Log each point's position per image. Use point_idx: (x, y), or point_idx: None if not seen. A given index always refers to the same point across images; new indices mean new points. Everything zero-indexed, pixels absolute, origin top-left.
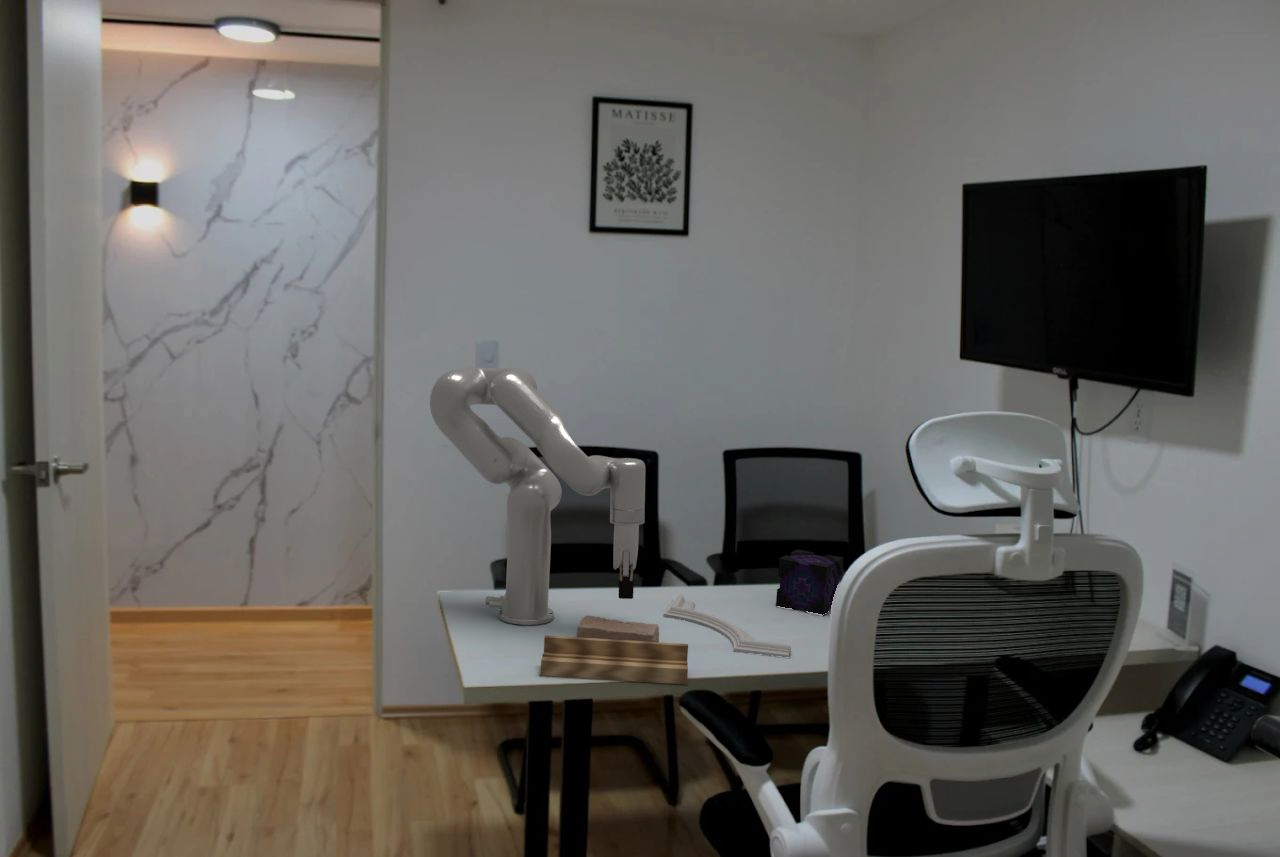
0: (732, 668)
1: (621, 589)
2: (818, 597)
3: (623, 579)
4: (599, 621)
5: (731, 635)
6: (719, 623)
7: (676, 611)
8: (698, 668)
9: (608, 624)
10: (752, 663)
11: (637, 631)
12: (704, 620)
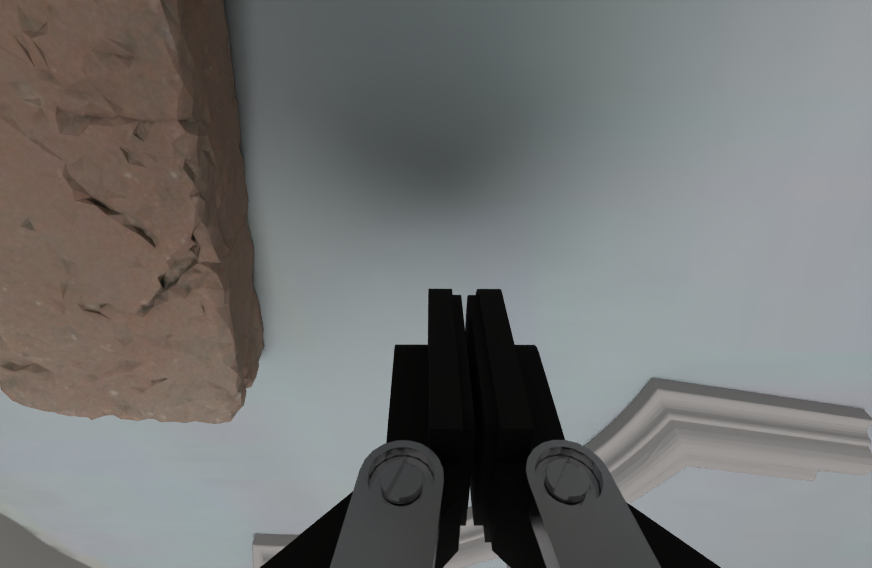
0: (86, 526)
1: (428, 367)
2: None
3: (341, 511)
4: (46, 72)
5: None
6: (479, 540)
7: (648, 442)
8: (10, 462)
9: (28, 157)
10: (168, 558)
11: (6, 342)
12: None
